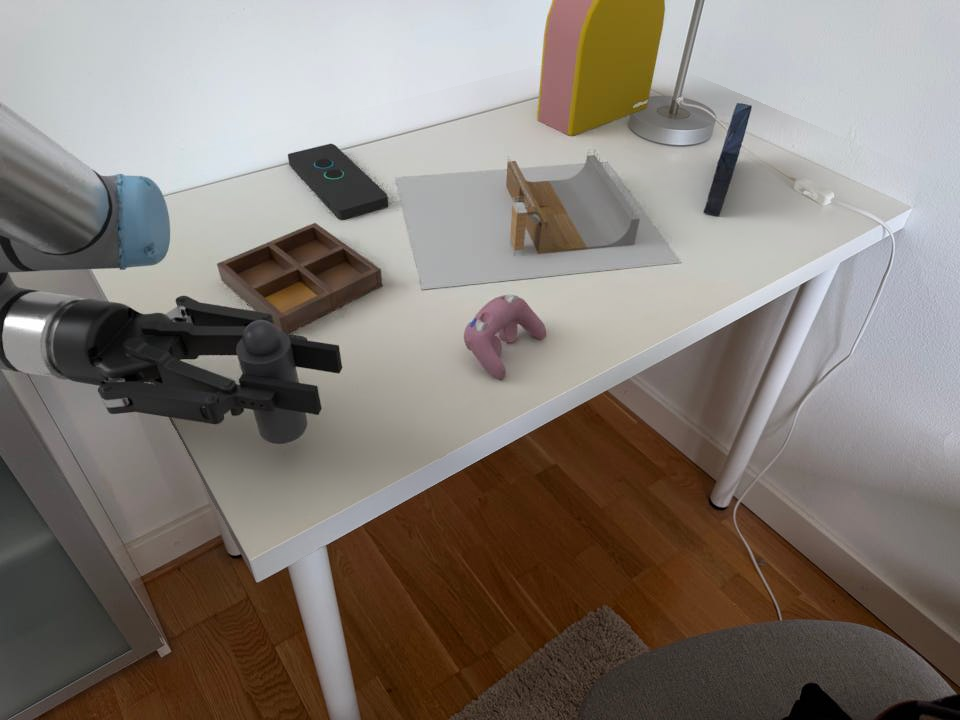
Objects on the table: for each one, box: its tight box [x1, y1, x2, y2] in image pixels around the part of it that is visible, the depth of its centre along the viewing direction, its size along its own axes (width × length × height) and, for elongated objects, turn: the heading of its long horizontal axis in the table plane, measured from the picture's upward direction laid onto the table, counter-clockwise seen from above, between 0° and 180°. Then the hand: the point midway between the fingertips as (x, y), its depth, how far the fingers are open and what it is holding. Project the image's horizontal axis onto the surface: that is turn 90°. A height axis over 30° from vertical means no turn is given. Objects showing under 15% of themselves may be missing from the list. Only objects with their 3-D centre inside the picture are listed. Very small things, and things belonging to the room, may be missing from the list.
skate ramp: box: [394, 149, 682, 290], centre depth 97 cm, size 29×35×8 cm
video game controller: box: [463, 294, 547, 380], centre depth 77 cm, size 10×5×7 cm, turn 144°
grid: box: [216, 222, 383, 334], centre depth 86 cm, size 14×14×3 cm
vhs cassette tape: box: [703, 102, 753, 217], centre depth 104 cm, size 18×3×10 cm, turn 157°
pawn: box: [236, 320, 308, 445], centre depth 60 cm, size 4×4×12 cm
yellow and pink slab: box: [536, 0, 666, 137], centre depth 118 cm, size 21×9×26 cm, turn 130°
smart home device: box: [287, 143, 389, 221], centre depth 105 cm, size 8×2×20 cm
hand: (328, 379), depth 58 cm, fingers closed on pawn, 4 cm apart
